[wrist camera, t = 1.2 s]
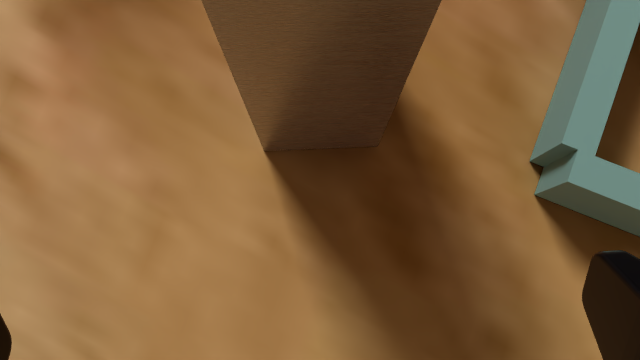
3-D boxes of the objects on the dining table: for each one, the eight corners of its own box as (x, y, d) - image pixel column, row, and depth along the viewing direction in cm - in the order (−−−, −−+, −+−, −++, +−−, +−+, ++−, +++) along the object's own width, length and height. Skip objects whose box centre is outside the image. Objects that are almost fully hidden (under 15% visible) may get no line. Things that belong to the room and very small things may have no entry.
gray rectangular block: (377, 146, 23) (455, -32, 10) (263, 151, 22) (192, -21, 10) (370, 39, 23) (434, -254, 11) (261, 44, 23) (191, -246, 10)
